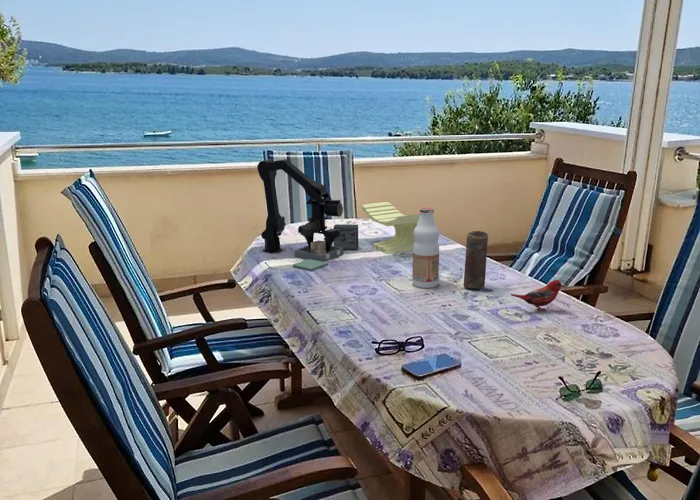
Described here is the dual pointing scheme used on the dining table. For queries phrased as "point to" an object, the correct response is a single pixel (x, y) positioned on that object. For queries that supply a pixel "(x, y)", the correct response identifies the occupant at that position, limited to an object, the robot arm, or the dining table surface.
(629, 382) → the dining table surface
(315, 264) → the mat
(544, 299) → the decorative bird figurine
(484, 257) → the candle
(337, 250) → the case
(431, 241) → the fruit juice
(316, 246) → the block
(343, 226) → the small box
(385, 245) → the slatted curved stool
